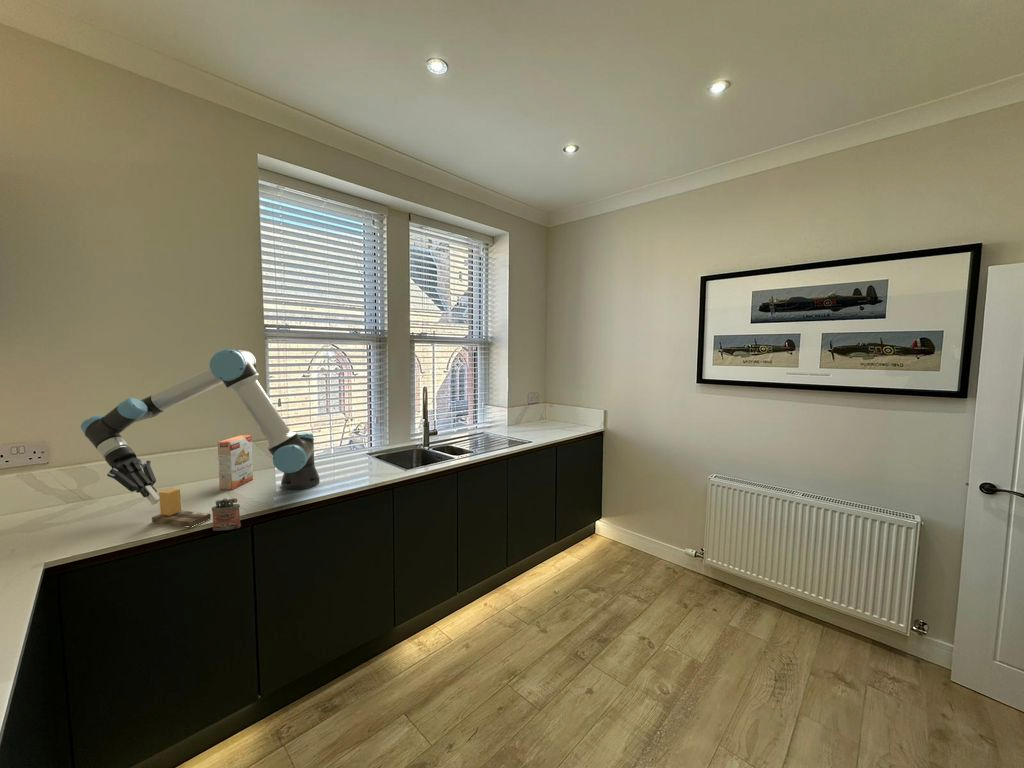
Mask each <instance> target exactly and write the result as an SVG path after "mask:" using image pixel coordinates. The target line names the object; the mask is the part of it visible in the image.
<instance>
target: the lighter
mask: <svg viewBox="0 0 1024 768" xmlns="http://www.w3.org/2000/svg"><path fill="white" fill-rule="evenodd" d="M237 502H238V498H236V497H235V498H229V499H227V498H223V499H217V500H215V506H212V507H211V511H212V524H213V525H212V531H228V530H234V529H239V528H241V527H242V523H241V517H240V516H241V514H240V508H241V505H240V504H239V503H237Z"/></svg>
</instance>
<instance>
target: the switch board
mask: <svg viewBox="0 0 1024 768" xmlns="http://www.w3.org/2000/svg"><path fill="white" fill-rule="evenodd" d="M211 515H212V514H211V513H207V512H199V511H198V512H197V511H191V510H190V511H189V510H182V509H181V512H178V513H175V514H173V515H170V516H168V515H161V513H159V514H156V515H154V516H152V517H151V522H154V523H153V524H159V523H162V524H161V525H166V524H171V525H170V526H174V525H180V526H179V527H182V526H189V527H188V528H190V527H192V526H194V525H196V524H199V523H201V522H203V521H206V520H208V519H210V518H211ZM211 519H212V518H211ZM211 519H210V520H211ZM208 521H209V520H208ZM206 522H207V521H206ZM203 523H204V522H203ZM201 524H202V523H201ZM199 525H200V524H199ZM196 526H197V525H196ZM194 527H195V526H194ZM192 528H193V527H192Z"/></svg>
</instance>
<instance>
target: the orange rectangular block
mask: <svg viewBox="0 0 1024 768" xmlns="http://www.w3.org/2000/svg"><path fill="white" fill-rule="evenodd" d="M158 496H159V498H160V500H159V509H160V510H159V511H160V514H161V515H168V516H170V515H173V514H175V513H178V512H181V510H182V500H181V489H180V488H179V489H178V488H168V489H165V490H161V491H159V492H158Z"/></svg>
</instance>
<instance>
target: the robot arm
mask: <svg viewBox="0 0 1024 768" xmlns="http://www.w3.org/2000/svg"><path fill="white" fill-rule="evenodd" d="M256 368H257V359H256V357H255V355H253V353H252V352H250V351H248V350H247V349H242V348H225V349H222V350H219V351H217V352H215V353H214V354H213V356H212V357H211V358H210V361H209V368H207V369H205V370H202V371H200V372H198V373H196V374H194V375H192V376H190V377H188V378H186V379H183V380H180V381H179V382H177V383H174V384H172V385H170V386H168V387H166V388H164V389H161V390H159V391H158V392H155V393H153V394H151V395H149V396H147V397H144V398H142V399H139V398H135V397H129V398H126V399H125V400H123V401H122V402H120V403H119V404H118V405H117V406H115V407H114V408H113V409H112V410H111V411H109V412H108V413H106V414H105V415H94V416H92V417H90V418H86V419H85V420H83V422H82V423H81V424H80V429H81V431H82V432H83V434H84V436H85V438H87V439H88V440H89V442H90V443H91V444H92V446H94V447H95V449H96V450H97V451H98V453H99V455H101V457H102V458H104V460H105V462H106V464H108V465H109V467H111V469H110V470H109V471H108V473H107V474H106V476H107V477H109V478H111V479H114V480H115V481H116V482H118V483H119V484H121V485H122V486H123V487H124V488H125V489H127V490H128V491H129V492H131V493H133V492H136V493H138V494H140V495H141V496H142V497H143V498H146V499H147V500H148V501H149V502H150V503H151V505H152V506H154V505H157V504H158V503H160V498H159V493H158V491H157V488H155V486H154V485H155V483H156V482H157V479H156V476H155V473H154V471H153V469H152V466H151V460H146V461H142V460H141V459H140V458H138V457H137V455H136V453H135V451H134V450H133V449H132V448H131V447H130V445H129V444H128V443H127V442H126V440H125V439H124V438H123V436H121V433H122V432H124V430H126V429H127V428H128V427H130V426H131V425H132V424H134V423H137V422H140V421H143V420H144V421H145V420H147V419H152V418H155V417H156V416H159V415H160V414H161V413H163V412H164V411H167V410H169V409H171V408H173V407H175V406H177V405H180V404H181V403H184V402H186V401H189V400H190V399H192V398H195V397H197V396H199V395H200V394H201V395H202V393H204V392H207V391H209V390H211V389H214V388H216V387H217V386H220V385H222V384H224V386H225V387H226V388H227V390H232V391H234V392H235V394H236V395H237V397H238V398H239V400H240V401H241V403H242V405H243V406H244V408H245V409H246V411H248V413H249V414H250V416H251V418H252V420H253V421H254V422H255V424H256V426H257V427H258V428H259V430H260V431H261V433H262V434H263V435H264V437H265V438H266V440H267V442H268V446H267V449H268V451H269V453H270V454H271V456H272V463H273V465H274V467H275V468H276V469H277V470H278V471H280V472H281V473H283V475H282V477H281V482H280V485H281V486H280V487H281V489H284V490H291V491H294V490H305V489H309V488H312V487H314V486H317V485H318V484H320V475H319V472H318V470H317V468H316V466H315V444H314V443H315V442H314V441H315V438H314V434H313V433H312V432H298V433H297V432H295V431H291V429H290V428H289V427H288V425H287V424H286V422H285V420H283V418H282V416H281V414H280V413H279V411H278V410H277V408H276V406H275V405H274V404H273V402H272V401H271V399H270V397H269V396H268V394H267V393H266V391H265V390H264V388H263V387H262V385H261V383H260V382H259V380H258V378H259V373H258V372H257V370H256Z"/></svg>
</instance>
